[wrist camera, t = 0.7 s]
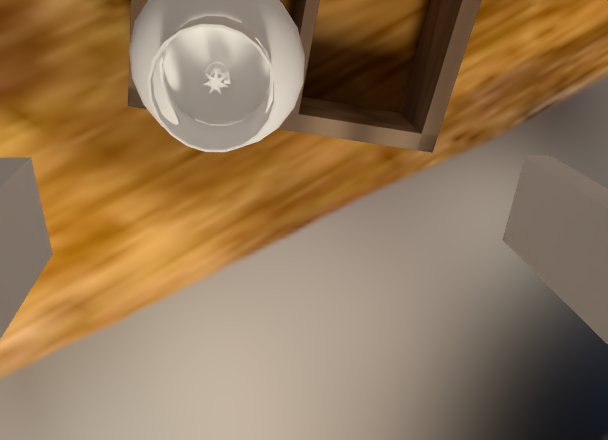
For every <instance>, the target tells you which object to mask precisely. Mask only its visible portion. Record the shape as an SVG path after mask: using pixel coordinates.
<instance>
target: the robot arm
mask: <svg viewBox="0 0 608 440" xmlns="http://www.w3.org/2000/svg"><path fill="white" fill-rule="evenodd" d="M503 241H504V242H505V243H506V244H507V245H508V246H509V247H510V248H511V249H512V250H513V251H514V252H515V253H516V254H517V255H518V256H519V257H520V258H521V259H522V260H523V261H524V262H525V263H526V264H527V265H528V266H529V267H530V268H531V269H532V270H533V271H534V272H535V273H536V274H537V275H538V276H539V277H541V279H542V280H543V281H544V282H545V283H546V284H547V285H548V286H549V287H550V288H551V289H552V290H553V291H554V292H556V294H557V295H559V296H560V298H561V299H562V300H563V301H564V302H565V303H567V304H568V305H569V306H570V307H571V308H572V309H573V310H574V311H575V312H576V313H577V314H578V315H579V316H580V317H581V318H582V319H583V320H584V321H585V322H586V323H587V324H588V325H589V326H590V327H591V328H592V329H593V330H594V331H595V332H596V333H597V334H598V335H599V336H600V337H601V338H602V339H603V340H604V341H605V342H606V343H607V344H608V189H606V188H604V187H603V186H601V185H599V184H598V183H596V182H594V181H592V180H591V179H589V178H587V177H586V176H584V175H582V174H581V173H579V172H577V171H575V170H574V169H572V168H570V167H569V166H567V165H565V164H563V163H562V162H560V161H558V160H557V159H555V158H553V157H551V156H525V158H524V162H523V166H522V169H521V173H520V177H519V181H518V184H517V188H516V192H515V195H514V199H513V203H512V207H511V211H510V214H509V218H508V222H507V225H506V229H505V233H504V237H503ZM51 255H52V250H51V245H50V241H49V236H48V232H47V227H46V223H45V218H44V214H43V209H42V205H41V201H40V196H39V192H38V187H37V183H36V178H35V174H34V169H33V165H32V160H31V158H0V339H1V337H2V336H3V334H4V332H5V331H6V329H7V327H8V326H9V324H10V322H11V321H12V319H13V318H14V316H15V314H16V313H17V311H18V309H19V308H20V306H21V305H22V303H23V301H24V300H25V298H26V296H27V295H28V293H29V291H30V290H31V288H32V287H33V285H34V283H35V282H36V280H37V278H38V277H39V275H40V273H41V272H42V270H43V269H44V267H45V265H46V264H47V262H48V260H49V259H50V257H51Z"/></svg>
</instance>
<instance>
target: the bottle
mask: <svg viewBox="0 0 608 440" xmlns="http://www.w3.org/2000/svg"><path fill="white" fill-rule="evenodd" d="M129 55H130V64H131V73H132V79H133V82H134V84H135V86H136V89H137V91H138V93H139V95H140V98H141V100H142V102H143V105H144V106H145V107H146V108H147V109H148V110H149V112H150V113H151V114H152V115H153V116H154V118H155V119H156V120H157V121H158V122H159V124H160V125H161V126H162V127H164V128H165V129H166V130H167V131H168V132H169V134H170V135H172V136H173V137H175V138H176V139H178V140H179V141H181V142H182V143H184V144H185V145H187V146H189V147H192V148H195V149H199V150H202V151H205V152H227V151H230V150H234V149H237V148H240V147H243V146H245V145H248V144H252V143H255V142H258V141H260V140H261V139H263V138H264V137H266V136H267V135H269V134H270V133H271V132H273V131H274V130H276V129H277V128H279V127H280V125H281V124H282V123H283V121H284V120H285V119H286V118H287V116H288V115H289V114H290V112H291V111H292V110H293V109H294V107H295V104H296V102H297V99H298V96H299V93H300V91H301V88H302V85H303V80H304V60H305V55H304V51H303V47H302V43H301V39H300V35H299V32H298V28H297V26H296V25H295V23H294V21H293V20H292V18H291V17H290V15H289V13H288V12H287V10H286V8H285V7H284V5H283V4H282V2H280V1H279V0H148V1H147V3H146V4H145V6H144V7H143V9H142V11H141V12H140V14H139V15H138V17H137V19H136V20H135V23H134V28H133V33H132V37H131V42H130V47H129Z"/></svg>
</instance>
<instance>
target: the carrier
mask: <svg viewBox="0 0 608 440" xmlns="http://www.w3.org/2000/svg"><path fill="white" fill-rule="evenodd" d="M147 1H148V0H131V21H130V42H131V37H132V33H133V28H134V23H135V20H136V19H137V17H138V15H139V14H140V12H141V11H142V9H143V7H144V6H145V4H146V3H147ZM319 1H320V0H296V3H295V9H294V15H293V21H294V23H295V25H296V26H297V28H298V32H299V35H300V39H301V43H302V47H303V51H304V55H305V60H304V80H303V85H302V88H301V91H300V93H299V96H298V99H297V102H296V104H295V107H294V109H293V110H292V111H291V112H290V114H289V115H288V116H287V118H286V119H285V120H284V121H283V123H282V124H281V125H280V127H279V128H277V129H282V130H288V131H295V132H302V133H308V134H315V135H321V136H328V137H334V138H341V139H347V140H354V141H361V142H367V143H374V144H380V145H387V146H393V147H400V148H406V149H413V150H420V151H426V152H433V149H434V146H435V143H436V140H437V137H438V134H439V131H440V128H441V125H442V121H443V118H444V115H445V112H446V109H447V106H448V103H449V100H450V96H451V93H452V90H453V87H454V84H455V81H456V78H457V75H458V72H459V68H460V65H461V62H462V59H463V56H464V53H465V50H466V47H467V44H468V40H469V37H470V34H471V31H472V28H473V25H474V22H475V19H476V15H477V12H478V9H479V6H480V3H481V0H430V2H429V6H428V9H427V13H426V17H425V20H424V24H423V27H422V31H421V34H420V38H419V42H418V45H417V49H416V52H415V56H414V60H413V63H412V67H411V70H410V74H409V78H408V81H407V85H406V88H405V92H404V96H403V99H402V103H401V106H400V110H399V113H397V112H391V111H385V110H379V109H373V108H367V107H361V106H355V105H349V104H343V103H337V102H331V101H325V100H319V99H313V98H307V97H302V92H303V87H304V81H305V76H306V71H307V65H308V60H309V55H310V49H311V44H312V39H313V33H314V28H315V23H316V17H317V12H318V6H319ZM128 106H131V107H138V108H144V109H147V108H146V107H145V106H144V105H143V102H142V100H141V98H140V95H139V93H138V91H137V89H136V86H135V84H134V82H133V79H132V73H131V64H130V55H129V88H128Z"/></svg>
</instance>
